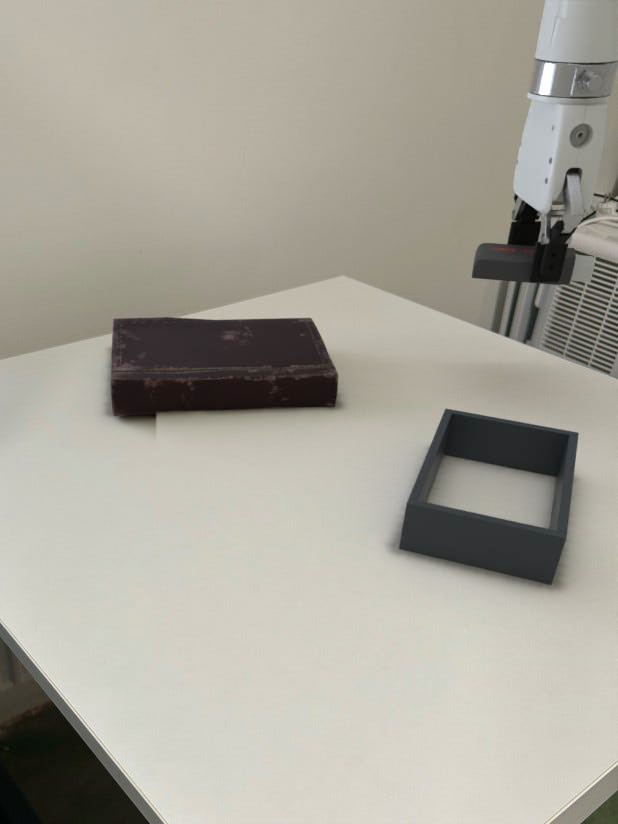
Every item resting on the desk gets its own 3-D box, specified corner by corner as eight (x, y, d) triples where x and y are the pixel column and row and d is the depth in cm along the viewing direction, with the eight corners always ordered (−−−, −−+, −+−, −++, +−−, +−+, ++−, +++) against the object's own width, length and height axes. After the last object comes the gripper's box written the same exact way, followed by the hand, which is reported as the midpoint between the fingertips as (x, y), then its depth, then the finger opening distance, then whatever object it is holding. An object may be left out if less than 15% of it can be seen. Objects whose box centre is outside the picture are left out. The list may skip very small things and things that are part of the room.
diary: (335, 414, 93) (340, 373, 90) (113, 421, 91) (110, 380, 88) (307, 348, 108) (310, 311, 105) (115, 353, 106) (112, 315, 103)
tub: (436, 456, 86) (445, 408, 82) (563, 482, 82) (578, 432, 78) (397, 556, 72) (406, 503, 68) (548, 592, 68) (566, 538, 65)
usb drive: (473, 263, 93) (477, 238, 91) (587, 272, 90) (593, 246, 88) (471, 278, 89) (475, 252, 87) (590, 287, 86) (597, 261, 84)
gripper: (653, 94, 71) (598, 297, 82) (574, 69, 85) (536, 244, 96) (568, 96, 71) (524, 299, 82) (502, 70, 85) (472, 246, 96)
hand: (531, 268), depth 89 cm, fingers closed on usb drive, 6 cm apart
